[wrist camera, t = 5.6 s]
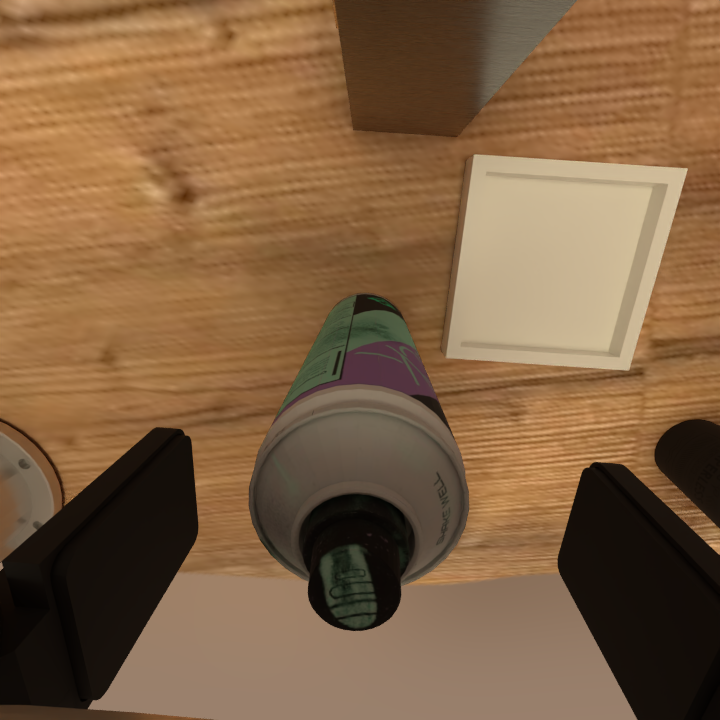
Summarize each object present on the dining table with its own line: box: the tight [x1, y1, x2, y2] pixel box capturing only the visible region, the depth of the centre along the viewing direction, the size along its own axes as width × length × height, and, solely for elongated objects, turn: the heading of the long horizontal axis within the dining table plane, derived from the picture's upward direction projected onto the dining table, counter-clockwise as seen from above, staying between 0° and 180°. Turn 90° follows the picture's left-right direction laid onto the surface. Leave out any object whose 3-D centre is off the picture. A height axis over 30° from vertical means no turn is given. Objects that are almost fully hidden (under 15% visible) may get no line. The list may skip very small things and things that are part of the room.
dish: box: [441, 154, 688, 370], centre depth 24 cm, size 12×12×2 cm
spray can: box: [249, 293, 469, 631], centre depth 16 cm, size 6×6×20 cm
